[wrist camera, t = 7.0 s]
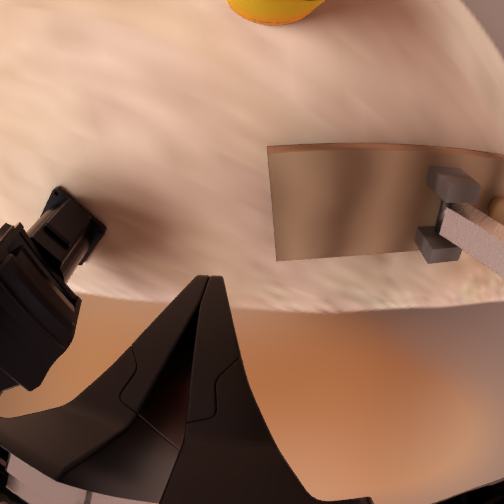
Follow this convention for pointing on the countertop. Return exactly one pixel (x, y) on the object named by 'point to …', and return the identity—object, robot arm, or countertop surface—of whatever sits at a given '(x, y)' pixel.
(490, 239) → the lever
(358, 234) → the base
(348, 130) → the countertop surface
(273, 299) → the countertop surface
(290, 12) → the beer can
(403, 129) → the countertop surface
